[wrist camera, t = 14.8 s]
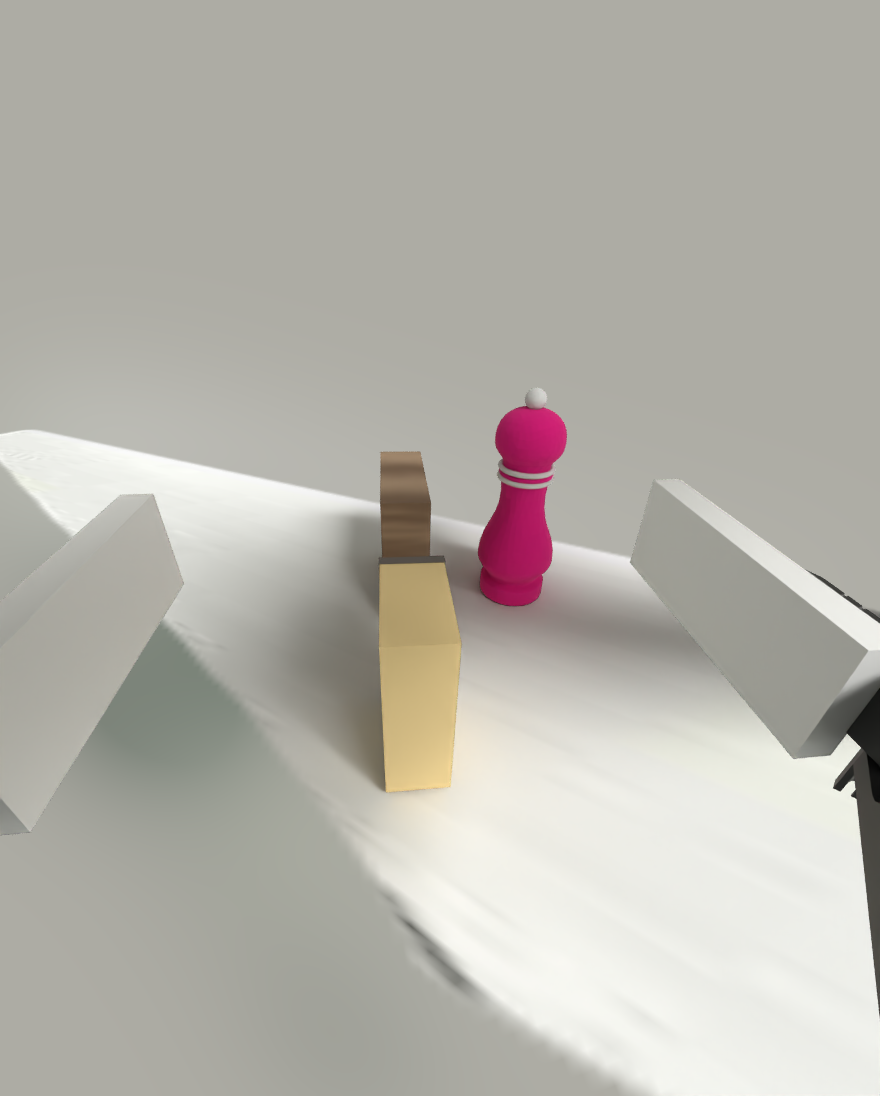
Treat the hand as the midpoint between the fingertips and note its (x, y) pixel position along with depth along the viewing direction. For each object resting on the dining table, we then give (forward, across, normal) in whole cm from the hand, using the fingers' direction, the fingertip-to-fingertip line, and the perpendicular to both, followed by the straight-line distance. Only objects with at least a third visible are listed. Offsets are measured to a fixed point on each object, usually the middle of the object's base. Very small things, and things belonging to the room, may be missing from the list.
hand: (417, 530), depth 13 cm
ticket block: (+28, 0, -22) cm, 35 cm away
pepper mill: (+26, +11, -22) cm, 36 cm away
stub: (+9, 0, -22) cm, 24 cm away
